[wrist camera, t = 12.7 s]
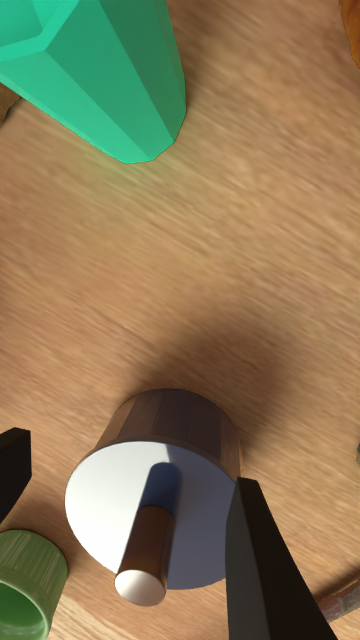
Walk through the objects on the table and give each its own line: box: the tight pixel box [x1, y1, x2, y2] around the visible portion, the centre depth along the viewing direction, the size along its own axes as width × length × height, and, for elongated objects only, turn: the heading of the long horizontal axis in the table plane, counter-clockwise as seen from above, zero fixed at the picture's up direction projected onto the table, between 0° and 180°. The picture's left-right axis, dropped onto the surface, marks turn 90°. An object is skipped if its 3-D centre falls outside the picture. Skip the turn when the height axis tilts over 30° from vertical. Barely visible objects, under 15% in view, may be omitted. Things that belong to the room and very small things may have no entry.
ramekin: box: [0, 530, 68, 640], centre depth 26 cm, size 9×9×4 cm
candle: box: [0, 0, 186, 164], centre depth 10 cm, size 6×6×12 cm
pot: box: [95, 388, 245, 478], centre depth 19 cm, size 10×10×6 cm
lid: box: [65, 435, 237, 606], centre depth 15 cm, size 11×11×4 cm
